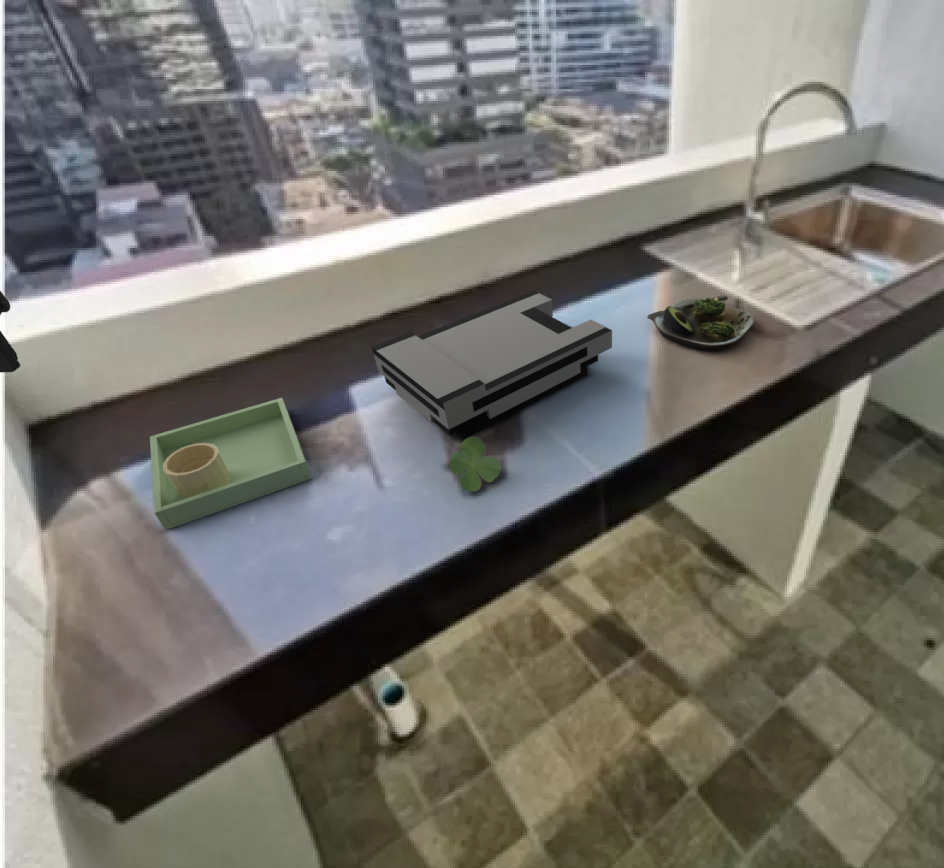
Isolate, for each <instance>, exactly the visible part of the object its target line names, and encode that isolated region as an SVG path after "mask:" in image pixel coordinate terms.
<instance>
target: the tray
mask: <svg viewBox="0 0 944 868" xmlns="http://www.w3.org/2000/svg"><path fill="white" fill-rule="evenodd" d="M197 443H209V444H213V445H214V446H216V447H217V448H218V450H219V452H220V453H221V455H222V457H223V459H224V461H225V463H226V465H227V467H228V468H229V470H230V472H231V480H230V482H229V484H228V485H225V486H222V487H219V488H216V489H213V490H210V491H207V492H204V493H201V494H198V495H195V496H192V497H189V498H186V499H183V498H182V497H180V496H179V495H178V493H177V492H176V490H175V488H174V487H173V485H172V484H171V482H170V480H169V479H168V477H167V476H166V474H165V472H164V471H163V463H164V462H165V460H166V458H167V457H169V456H170V455H171V454H172V453H173V452H175V451H177V450H179V449H181V448H183V447H186V446H189V445H192V444H197ZM149 444H150V445H149V446H150V447H149V448H150V462H151V479H152V480H151V481H152V494H153V495H152V497H153V510H154V511H153V513H154V515H155V516H156V518H157V519H158V521H159V522H160V523H161V525H162V527H163V528H164V530H165V531H168V530H170V529H173V528H176V527H178V526H182V525H185V524H188V523H190V522H193V521H197V520H198V519H201V518H204V517H207V516H211V515H213V514H216V513H219V512H221V511H224V510H227V509H230V508H233V507H235V506H238V505H242V504H244V503H247V502H250V501H252V500H253V501H254V500H255V499H258V498H262V497H264V496H268V495H270V494H273V493H275V492H279V491H281V490H283V489H287V488H289V487H292V486H295V485H298V484H301V483H304V482H306V481H309V480H312V479H313V476H312V473H311V471H310V470H311V469H310V468H309V465H308V462H307V460H306V457H305V454H304V452H303V448H302V446H301V443H300V441H299V438H298V435H297V433H296V430H295V427H294V424H293V421H292V419H291V416H290V414H289V411H288V409H287V405H286V404H285V402H284V399H283V397H279V398H277V399H272V400H269V401H264V402H262V403H259V404H256V405H252V406H248V407H245V408H242V409H238V410H234V411H231V412H228V413H225V414H222V415H221V414H220V415H218V416H215V417H211V418H207V419H205V420H201V421H197V422H195V423H191V424H187V425H184V426H181V427H178V428H174V429H170V430H168V431H164V432H161V433H157V434H154V435H151V436H149Z"/></svg>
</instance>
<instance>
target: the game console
mask: <svg viewBox="0 0 944 868" xmlns="http://www.w3.org/2000/svg"><path fill="white" fill-rule="evenodd" d="M553 316H554V313H553V299H552V298H550V297H547V296H546V295H544V294H542V293H540V292H538V291H535V290H532V291H529V292H527V293H524V294H521V295H519V296H516V297H514V298H511V299H508V300H507V301H504V302H500V303H498V304H496V305H494V306H491V307H489V308H486V309H483V310H480V311H478V312H476V313H473V314H470V315H468V316H466V317H464V318H460V319H458V320H455V321H452V322H450V323H448V324H446V325H443V326H440V327H438V328H435V329H433V330H430V331H428V332H425V333H423V334H419V335H416V334H415V333H413V332H411V331H409V332H407V333H404V334H401V335H399V336H397V337H394V338H391V339H389V340H386V341H384V342H381V343H378V344H376V345H373V346H371V350H372V353H373V357H374V360H375V364H376V367H377V372H378V373H379V374H381V375H382V376H383V377H384V379H385V383H386V384H387V385H388V386H389V387H391V388H392V389H393V391H395V393H396V395H398V397H400V398H401V399H402V400H403V401H405V402H406V404H408V405H409V406H410V407H412V408H413V409H414V410H415V411H416V412H417V413H418V414H420V415H421V416H422V417H424V418H425V419H426V420H427V421H428V422H430V423H431V424H433V423H434V424H435V425H436V426H438V427H439V429H441V431H443V432H445V433H446V434H447V435H448V436H450V437H451V436H454V435H457V436H458V437H459V438H460V439H461V440H463V441H464V440H465V439H466V438H469V437H473V436H474V435H476V434H478V433H480V432H481V431H483V430H486V429H488V428H489V427H491V426H494V425H495V424H497V423H499V422H501V421H503V420H505V419H507V418H509V417H510V416H512V415H514V414H516V413H518V412H520V411H522V410H524V409H526V408H528V407H529V406H531V405H533V404H536V403H538V402H539V401H541V400H543V399H545V398H547V397H549V396H551V395H553V394H555V393H557V392H558V391H560V390H562V389H564V388H566V387H568V386H570V385H572V384H574V383H575V382H578V381H579V380H582V379H583V378H585V377H588V375H589V374H588V373H589V372H588V367H589V366H592V365H593V364H595V363H597V362H599V355H600V354H602V353H604V352H606V351H608V350H610V349H612V348H613V330H612V329H611V328H609V327H607V326H605V325H603V324H601V323H599V322H597V321H595V320H593V319H589V320H586V321H584V322H582V323H580V324H578V325H575V326H573V327H572V326H570V325H568V324H566V323H564V322H562V321H561V320H559V319H557V318H555V317H553Z"/></svg>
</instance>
